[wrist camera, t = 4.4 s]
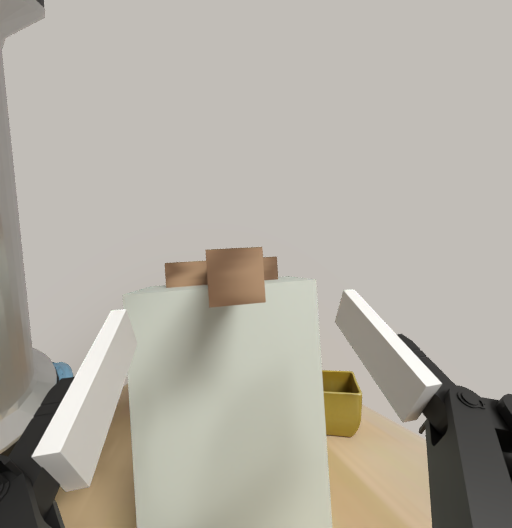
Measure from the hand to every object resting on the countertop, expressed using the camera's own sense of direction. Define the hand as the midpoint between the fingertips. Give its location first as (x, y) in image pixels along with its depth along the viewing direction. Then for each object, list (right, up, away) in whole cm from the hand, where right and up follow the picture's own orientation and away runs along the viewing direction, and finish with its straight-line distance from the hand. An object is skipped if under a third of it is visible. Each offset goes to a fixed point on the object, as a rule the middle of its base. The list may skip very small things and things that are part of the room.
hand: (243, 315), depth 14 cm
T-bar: (-2, +1, +8) cm, 9 cm away
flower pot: (+16, -28, +30) cm, 44 cm away
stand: (-1, -29, +14) cm, 33 cm away
